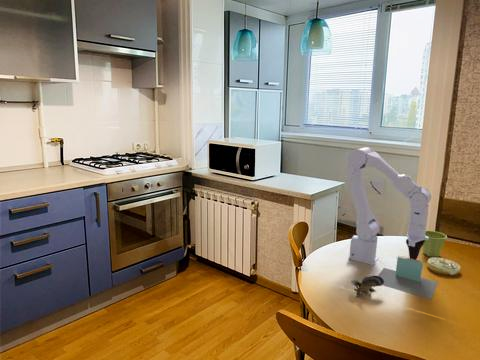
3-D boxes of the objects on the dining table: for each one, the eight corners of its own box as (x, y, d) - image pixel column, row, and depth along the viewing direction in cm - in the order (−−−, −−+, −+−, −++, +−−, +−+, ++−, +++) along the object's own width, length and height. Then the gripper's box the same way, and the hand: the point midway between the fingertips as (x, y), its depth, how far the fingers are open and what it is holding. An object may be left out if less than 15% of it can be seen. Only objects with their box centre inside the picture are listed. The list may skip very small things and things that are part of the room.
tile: (395, 275, 129) (397, 257, 127) (396, 273, 130) (398, 255, 129) (420, 281, 124) (422, 263, 123) (420, 280, 125) (423, 261, 124)
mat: (372, 283, 124) (372, 282, 124) (383, 268, 135) (383, 267, 135) (431, 300, 113) (431, 299, 113) (437, 283, 124) (438, 282, 124)
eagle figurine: (372, 301, 110) (389, 288, 115) (360, 279, 112) (378, 267, 116) (355, 303, 117) (372, 290, 121) (344, 282, 118) (361, 271, 123)
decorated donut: (458, 280, 127) (459, 270, 126) (424, 272, 133) (425, 262, 132) (460, 269, 135) (462, 260, 134) (428, 262, 141) (429, 253, 140)
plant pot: (420, 247, 155) (423, 228, 153) (445, 253, 150) (448, 233, 148) (416, 255, 147) (418, 235, 146) (442, 261, 142) (445, 240, 140)
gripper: (426, 231, 120) (421, 269, 123) (433, 220, 131) (429, 255, 134) (403, 226, 124) (399, 263, 127) (412, 216, 135) (408, 250, 138)
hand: (413, 258), depth 131 cm, fingers closed
